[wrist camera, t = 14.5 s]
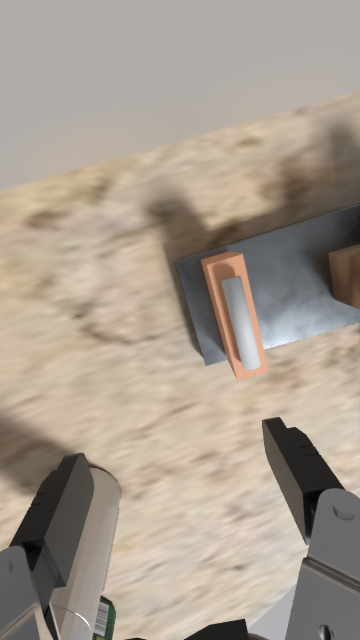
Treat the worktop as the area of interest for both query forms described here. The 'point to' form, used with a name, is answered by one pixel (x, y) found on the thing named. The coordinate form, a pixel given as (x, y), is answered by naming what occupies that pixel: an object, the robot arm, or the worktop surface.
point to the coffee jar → (104, 621)
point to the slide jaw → (235, 313)
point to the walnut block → (346, 275)
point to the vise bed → (279, 282)
